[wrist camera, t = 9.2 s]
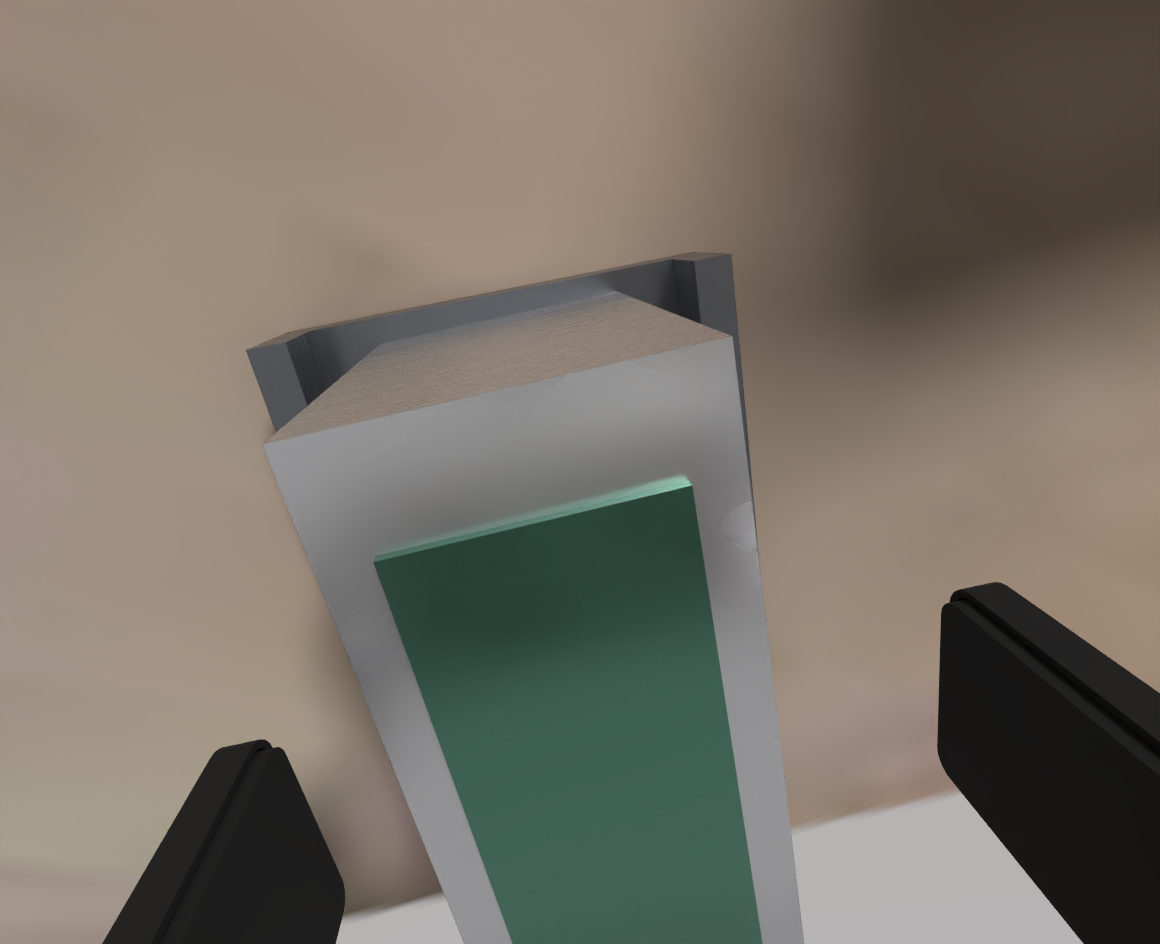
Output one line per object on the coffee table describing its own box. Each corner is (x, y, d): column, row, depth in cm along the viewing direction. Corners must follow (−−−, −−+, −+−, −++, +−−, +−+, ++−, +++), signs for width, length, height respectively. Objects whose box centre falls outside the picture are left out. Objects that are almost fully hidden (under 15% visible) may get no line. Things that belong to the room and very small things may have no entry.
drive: (616, 290, 13) (737, 338, 7) (689, 705, 17) (813, 999, 10) (379, 344, 13) (256, 448, 6) (508, 752, 17) (516, 1083, 10)
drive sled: (693, 252, 14) (731, 253, 12) (741, 689, 18) (776, 751, 16) (287, 332, 14) (245, 349, 11) (434, 762, 18) (425, 837, 15)
